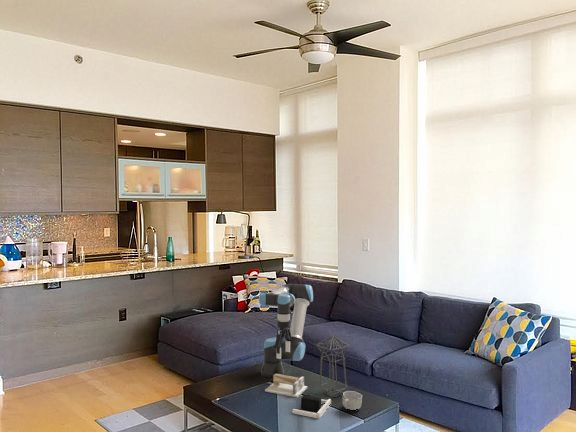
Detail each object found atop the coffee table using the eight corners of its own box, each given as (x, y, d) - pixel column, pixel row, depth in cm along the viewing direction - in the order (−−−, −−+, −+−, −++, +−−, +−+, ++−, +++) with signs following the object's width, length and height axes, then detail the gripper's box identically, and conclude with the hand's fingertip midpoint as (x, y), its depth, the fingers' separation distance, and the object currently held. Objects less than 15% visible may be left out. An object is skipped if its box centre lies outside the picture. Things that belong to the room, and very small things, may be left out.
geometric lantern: (332, 401, 276) (331, 341, 275) (314, 393, 289) (313, 335, 288) (352, 395, 285) (351, 336, 284) (334, 387, 298) (333, 330, 297)
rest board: (276, 382, 304) (276, 380, 304) (307, 387, 296) (307, 386, 296) (264, 391, 290) (265, 389, 290) (297, 397, 281) (297, 395, 281)
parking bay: (305, 399, 279) (306, 394, 278) (331, 404, 272) (331, 399, 272) (292, 413, 261) (292, 407, 261) (319, 418, 255) (319, 413, 255)
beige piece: (279, 381, 302) (279, 370, 302) (304, 386, 296) (304, 374, 295) (269, 389, 289) (269, 378, 289) (295, 394, 283) (295, 382, 282)
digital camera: (322, 409, 266) (322, 396, 266) (319, 413, 261) (319, 400, 261) (304, 406, 270) (304, 393, 270) (300, 410, 265) (301, 397, 265)
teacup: (350, 402, 275) (350, 389, 275) (366, 408, 267) (366, 394, 267) (334, 410, 265) (334, 395, 265) (350, 416, 257) (350, 402, 257)
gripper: (286, 314, 305) (285, 348, 306) (269, 324, 282) (268, 360, 283) (297, 316, 302) (296, 349, 303) (280, 326, 279) (280, 362, 280)
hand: (283, 355), depth 293 cm, fingers open, 13 cm apart
